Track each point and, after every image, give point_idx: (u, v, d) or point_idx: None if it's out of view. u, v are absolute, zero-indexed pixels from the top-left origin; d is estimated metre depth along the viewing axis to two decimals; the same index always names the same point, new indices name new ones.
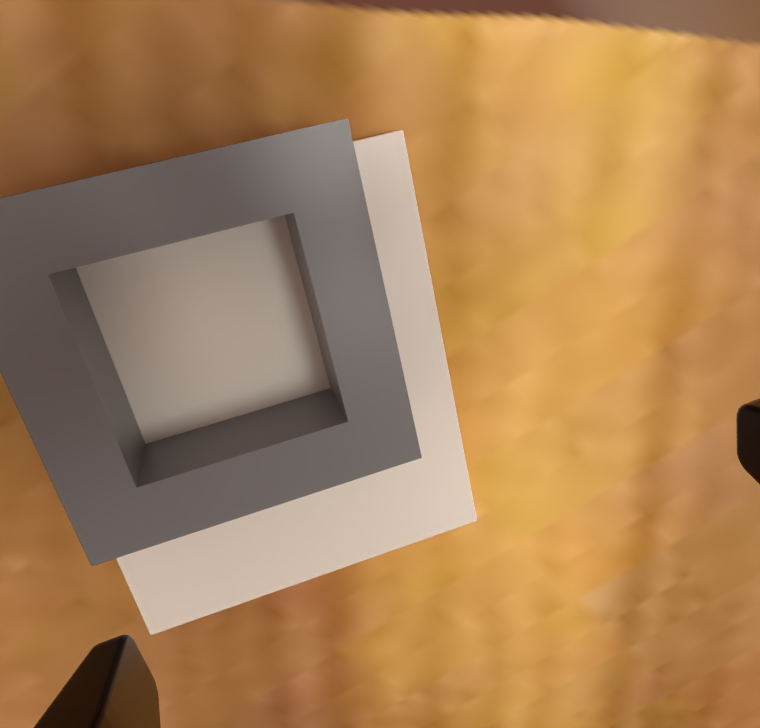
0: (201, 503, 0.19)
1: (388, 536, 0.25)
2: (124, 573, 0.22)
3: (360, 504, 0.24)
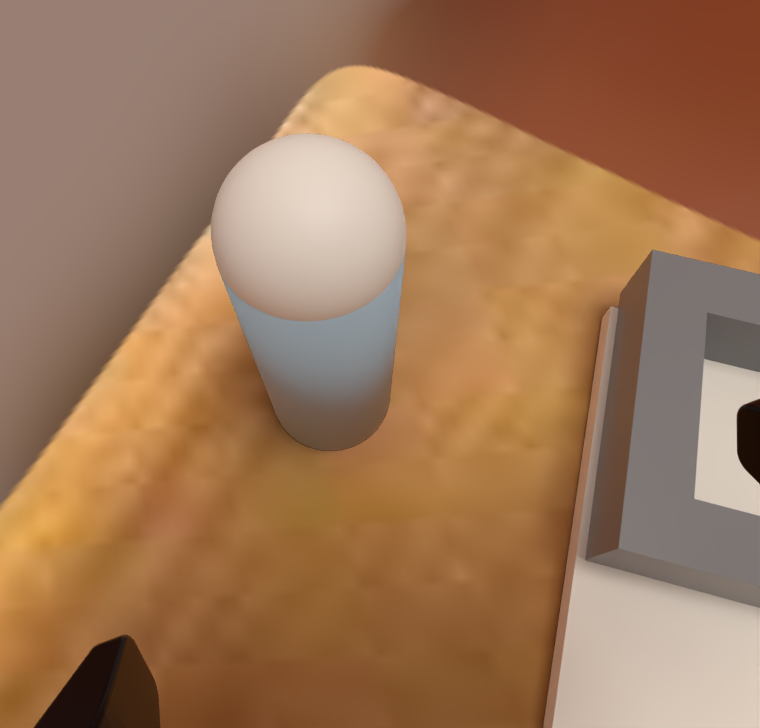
0: (745, 551, 0.18)
1: None
2: (566, 636, 0.20)
3: None
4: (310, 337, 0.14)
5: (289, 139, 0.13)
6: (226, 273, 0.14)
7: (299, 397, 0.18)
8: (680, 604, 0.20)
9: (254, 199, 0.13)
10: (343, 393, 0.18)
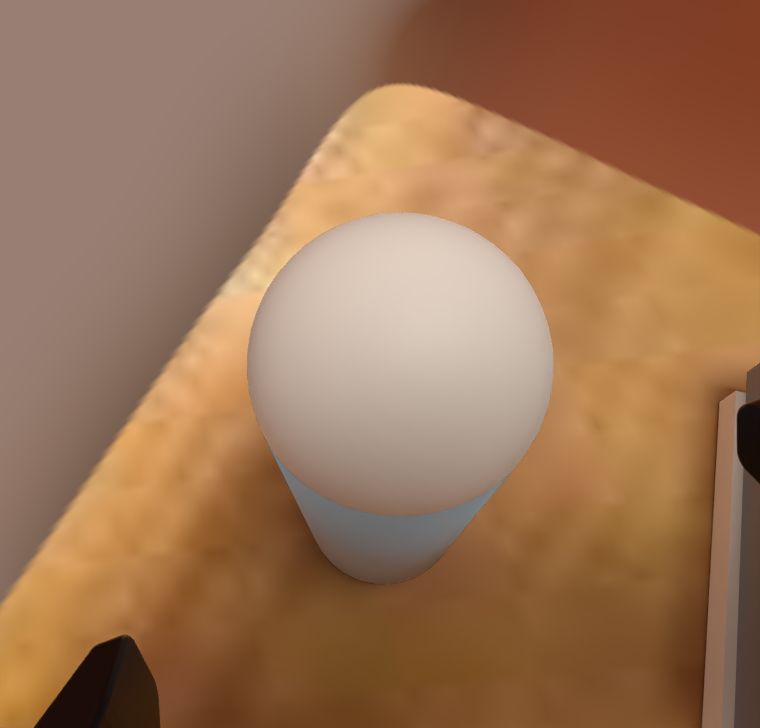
0: None
1: None
2: None
3: None
4: (400, 526, 0.09)
5: (379, 228, 0.08)
6: (273, 441, 0.08)
7: (360, 556, 0.13)
8: None
9: (326, 336, 0.07)
10: (422, 553, 0.13)
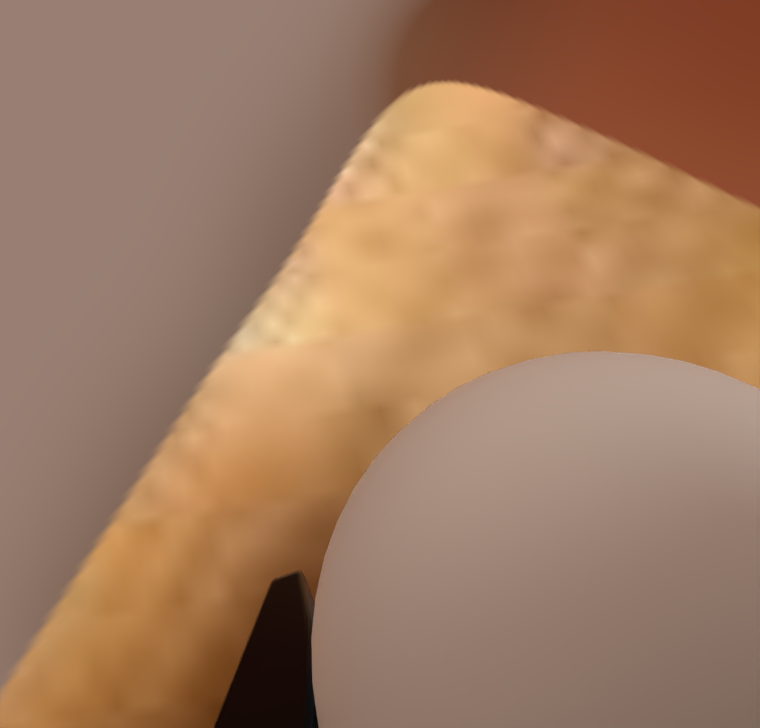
0: None
1: None
2: None
3: None
4: None
5: (628, 428, 0.04)
6: None
7: None
8: None
9: None
10: None
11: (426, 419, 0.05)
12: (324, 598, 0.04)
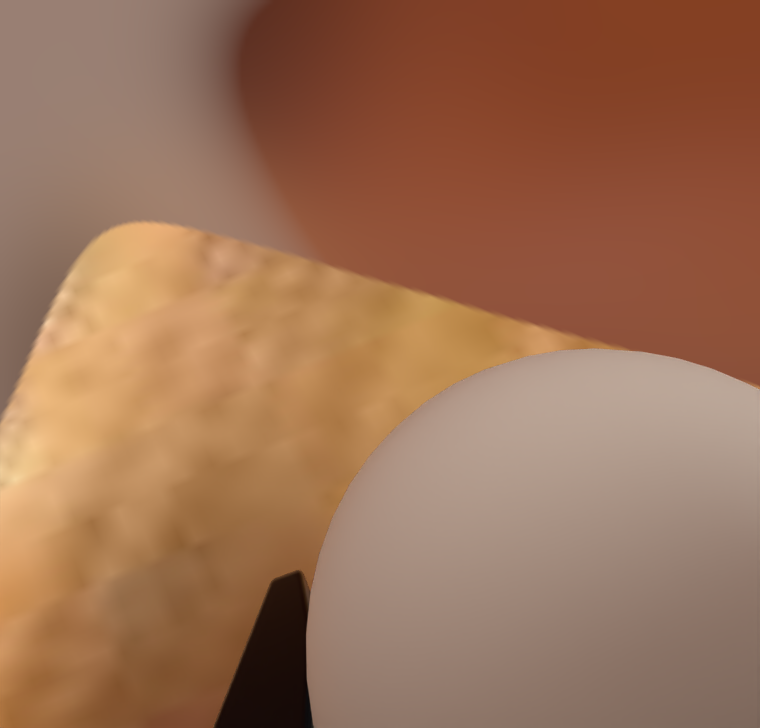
0: None
1: None
2: None
3: None
4: None
5: (620, 424, 0.04)
6: None
7: None
8: None
9: None
10: None
11: (420, 416, 0.05)
12: (318, 595, 0.04)
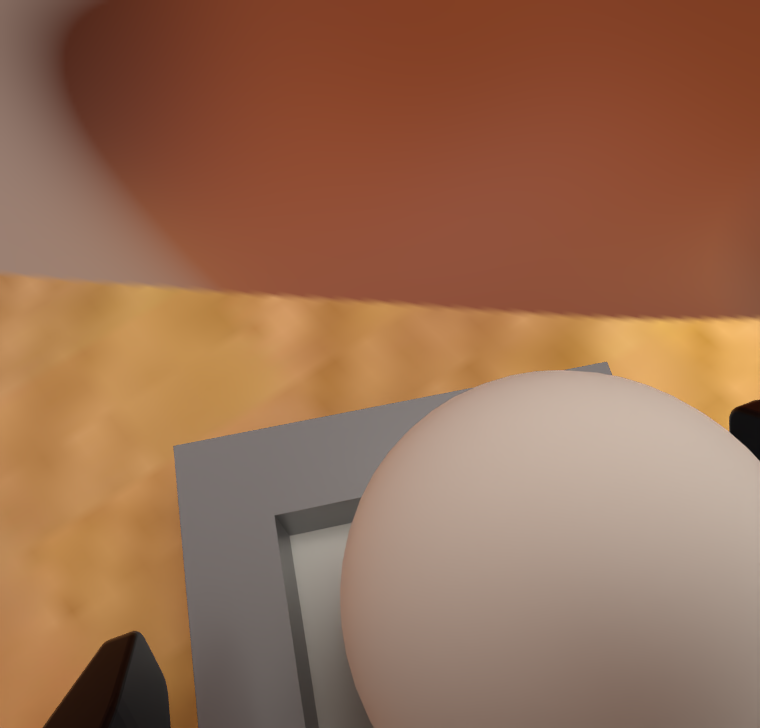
0: None
1: None
2: None
3: None
4: None
5: (574, 421, 0.05)
6: None
7: None
8: None
9: (519, 634, 0.04)
10: None
11: (429, 420, 0.06)
12: (353, 553, 0.06)
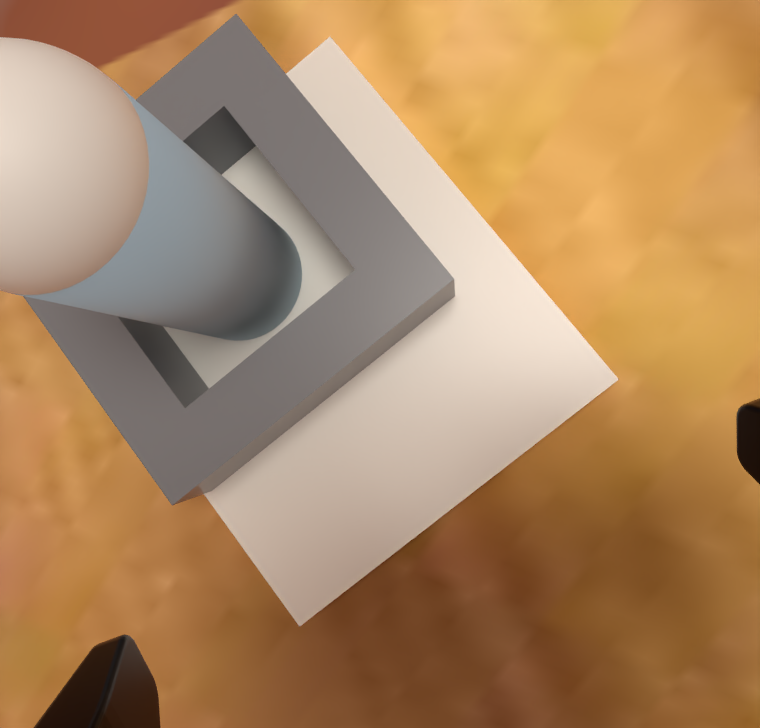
0: (247, 406, 0.18)
1: (513, 433, 0.20)
2: (249, 554, 0.21)
3: (460, 403, 0.21)
4: (108, 288, 0.12)
5: None
6: None
7: (177, 322, 0.16)
8: (294, 446, 0.21)
9: None
10: (214, 297, 0.16)
11: None
12: None
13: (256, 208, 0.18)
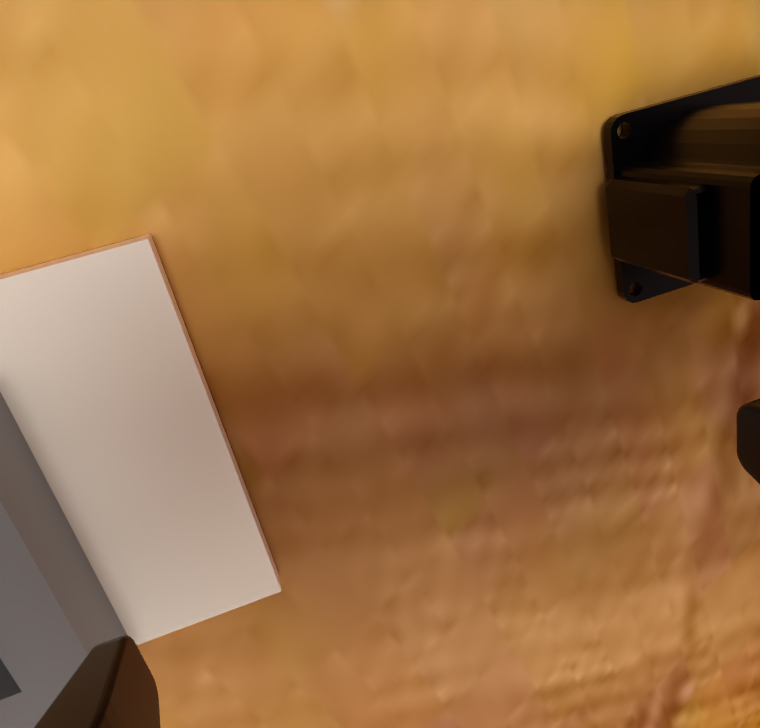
0: (39, 637, 0.18)
1: (169, 362, 0.19)
2: (203, 619, 0.22)
3: (119, 402, 0.19)
4: None
5: None
6: None
7: None
8: (110, 563, 0.21)
9: None
10: None
11: None
12: None
13: None
